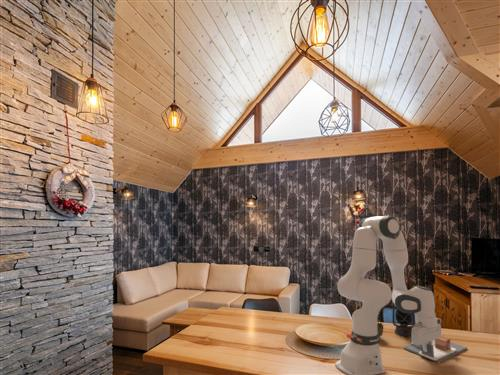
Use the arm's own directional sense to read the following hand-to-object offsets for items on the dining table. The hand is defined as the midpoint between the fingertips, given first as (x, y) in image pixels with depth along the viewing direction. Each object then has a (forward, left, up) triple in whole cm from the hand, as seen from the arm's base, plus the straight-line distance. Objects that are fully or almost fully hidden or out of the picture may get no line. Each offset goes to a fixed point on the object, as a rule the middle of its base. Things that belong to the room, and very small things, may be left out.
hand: (427, 350), depth 140 cm
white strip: (+9, 0, -3) cm, 10 cm away
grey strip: (+17, +8, -3) cm, 19 cm away
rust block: (+14, 0, -2) cm, 14 cm away
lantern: (+21, +24, -4) cm, 32 cm away
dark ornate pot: (+1, +28, -4) cm, 29 cm away
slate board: (+15, +4, -4) cm, 16 cm away
